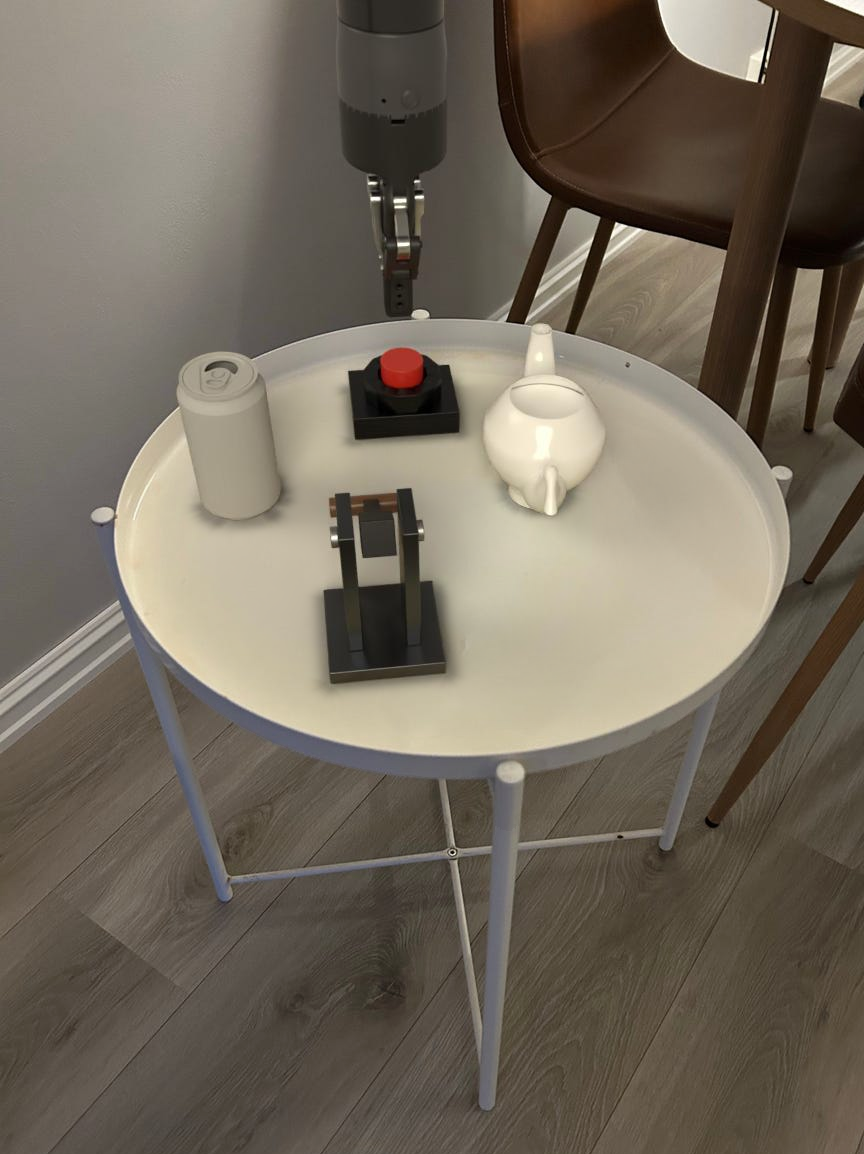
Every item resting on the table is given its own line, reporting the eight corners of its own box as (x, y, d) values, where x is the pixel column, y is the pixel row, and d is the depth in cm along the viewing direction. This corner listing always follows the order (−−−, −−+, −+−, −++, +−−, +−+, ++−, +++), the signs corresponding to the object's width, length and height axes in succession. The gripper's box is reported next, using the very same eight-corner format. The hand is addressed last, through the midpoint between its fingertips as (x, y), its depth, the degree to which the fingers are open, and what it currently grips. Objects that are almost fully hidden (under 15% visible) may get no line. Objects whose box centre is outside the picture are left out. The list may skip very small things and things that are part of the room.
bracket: (324, 600, 79) (309, 476, 70) (432, 591, 80) (431, 467, 71) (330, 684, 74) (315, 562, 65) (445, 673, 75) (446, 551, 66)
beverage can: (289, 476, 88) (272, 350, 79) (271, 529, 84) (251, 403, 75) (213, 469, 88) (187, 343, 79) (191, 522, 84) (161, 395, 75)
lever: (330, 521, 78) (327, 489, 77) (412, 515, 79) (410, 483, 78) (332, 561, 68) (328, 524, 67) (426, 553, 69) (424, 516, 68)
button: (383, 390, 90) (382, 373, 89) (379, 366, 92) (378, 348, 91) (425, 388, 90) (425, 370, 89) (421, 363, 93) (420, 346, 91)
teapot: (480, 576, 81) (484, 481, 74) (479, 414, 94) (482, 321, 87) (607, 578, 81) (622, 484, 74) (588, 416, 94) (599, 323, 87)
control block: (354, 440, 91) (351, 401, 88) (349, 391, 96) (346, 352, 93) (459, 432, 92) (460, 394, 89) (449, 384, 97) (449, 346, 94)
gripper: (332, 51, 77) (346, 272, 90) (343, 130, 69) (357, 361, 82) (435, 49, 78) (435, 268, 91) (459, 127, 70) (455, 356, 83)
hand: (398, 312), depth 87 cm, fingers closed
